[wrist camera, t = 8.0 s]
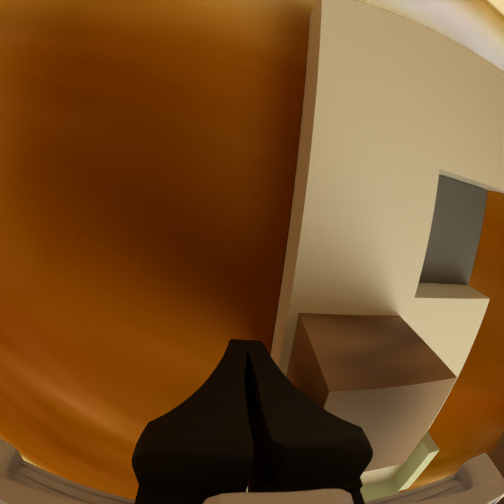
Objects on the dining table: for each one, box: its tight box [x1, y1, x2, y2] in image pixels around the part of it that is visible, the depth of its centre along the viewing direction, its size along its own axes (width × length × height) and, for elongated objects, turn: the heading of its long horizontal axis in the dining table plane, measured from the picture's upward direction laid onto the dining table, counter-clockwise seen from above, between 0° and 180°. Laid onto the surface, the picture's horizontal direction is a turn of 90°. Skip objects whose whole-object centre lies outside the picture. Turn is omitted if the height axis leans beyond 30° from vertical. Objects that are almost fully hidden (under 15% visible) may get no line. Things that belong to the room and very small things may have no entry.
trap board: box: [246, 0, 504, 502], centre depth 13 cm, size 14×31×5 cm, turn 174°
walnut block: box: [286, 313, 457, 472], centre depth 11 cm, size 5×5×5 cm
